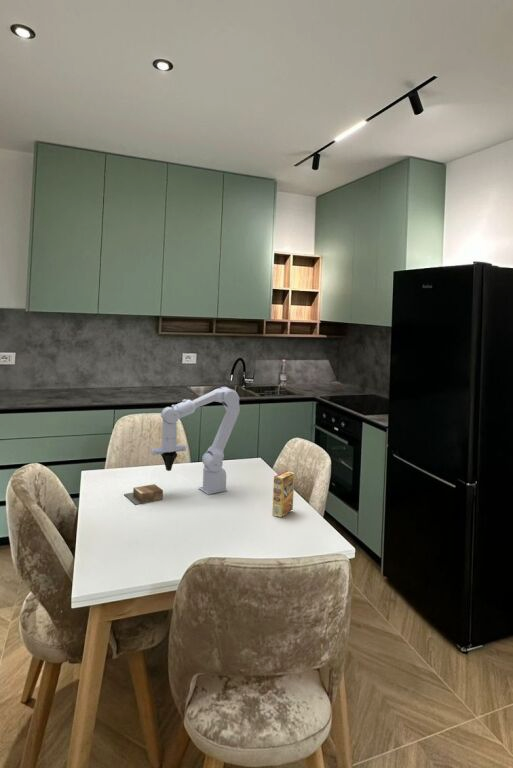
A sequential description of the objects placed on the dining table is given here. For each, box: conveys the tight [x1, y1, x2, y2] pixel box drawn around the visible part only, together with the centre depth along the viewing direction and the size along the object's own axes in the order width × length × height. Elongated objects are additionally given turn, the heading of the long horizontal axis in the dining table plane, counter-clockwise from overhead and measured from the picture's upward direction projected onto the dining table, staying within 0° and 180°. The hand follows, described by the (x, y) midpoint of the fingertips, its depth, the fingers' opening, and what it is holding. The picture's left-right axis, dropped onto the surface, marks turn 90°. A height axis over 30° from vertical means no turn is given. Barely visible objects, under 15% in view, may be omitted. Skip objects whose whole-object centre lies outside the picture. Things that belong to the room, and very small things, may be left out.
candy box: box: [271, 470, 295, 518], centre depth 180 cm, size 9×4×15 cm, turn 146°
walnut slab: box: [132, 483, 164, 503], centre depth 189 cm, size 4×8×9 cm
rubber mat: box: [123, 492, 161, 506], centre depth 190 cm, size 10×12×1 cm
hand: (168, 470), depth 193 cm, fingers closed
